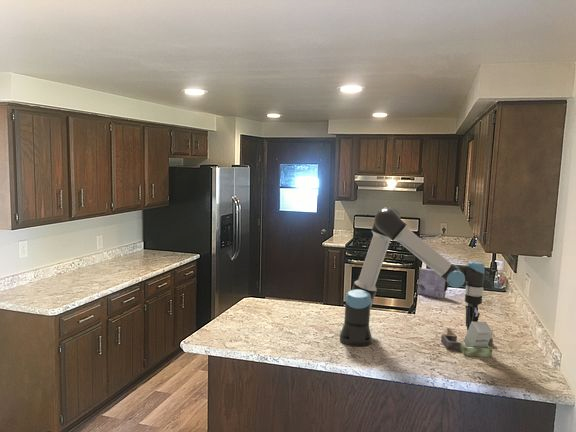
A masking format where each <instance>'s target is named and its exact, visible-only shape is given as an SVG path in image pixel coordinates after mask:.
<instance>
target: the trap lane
mask: <svg viewBox="0 0 576 432" xmlns="http://www.w3.org/2000/svg"><path fill="white" fill-rule="evenodd" d="M440 336H441V338H440V342H441V343H442V345H443V346H444V347H445V349H446V350H449V351H451V350H452V351H459V352H460V353H461V354H462V355H463V356H472V357H473V356H474V357H487V358H493V348H492V347H493V344H494V338H493V337H492V336H491V338H490V340H489V343H488V345H487V347H486V348H477V347H467V346H466V345H465V343H464V342H462V341H457V339H458V336H457V334H456V333H455V332H454V331H453V330H452V329H451V328H447V331H446V334H441V335H440Z"/></svg>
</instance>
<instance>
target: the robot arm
mask: <svg viewBox="0 0 576 432" xmlns="http://www.w3.org/2000/svg"><path fill="white" fill-rule="evenodd" d="M371 233H372V237H371V241H370V244H369V247H368V250H367V253H366V256H365V258H364V261H363V265H362V268H361V271H360V273H359V274H360V275H359V276H358V279H357V280H355V281H353V285H352V288H351V290H349V291H347V292H346V295H345V309H344V323H343V326H342V329H341V330H340V333H339V342H341V343H342V344H345V345H347V346H353V347H366V346H370V345H371V344H372V342H373V336H372V333H371V329H370V315H371V309H372V305H373V303H374V301H375V296H376V294H377V289H378V288H377V287H376V283H377V281H378V278H379V274H380V271H381V269H382V266H383V263H384V260H385V257H386V253H387V251H388V249H389V246H390V242H391V241H393V242H395V241H396V242H397V243H399V244H400V245H401V246H402V247H404V248H405V249H407V250H408V251H409V252H410V253H412V255H413V256H415V257H416V258H417V259H419V260H420V261H421V262H422V263H424V264H425V265H426V266H427V267H428V268H429V269H431V270H434V271H435V272H436V273H437V274H439V275H440V277H441V279H444V280H446V281H447V282H448V286H451V287H452V288H455V289H457V288H460V287H462V286H463V285H464V284H465V283H466V284H465V289H464V290H465V295H464V302H465V303H466V304H467V305H465V327H466V333H467V332H468V329H469V327H470V324H471V322H479V317H480V312H479V305H482V302H483V293H484V292H483V291H484V282H485V264H484V263H483V262H480V261H472V260H471V261H468V262H467V265H464V264H463V265H462V264H455V263H454V264H453V263H451V262H450V261H449V260H447V258H445V257H444V256H443V255H441V254H440V253H439V252H438V251H436V250H435V249H434V248H433V247H432V246H430V245H429V244H428V243H427V242H425V240H423V239H422V238H420V237H419V236H418V235H417V234H416V233H414V231H412V230H411V229H409V228H408V225H407V223H405V222H404V220H402V219H401V215H400V212H399V211H398V210H397V209H396V208H393V207H390V206H385V207H382V208H380V209H379V211H377V212H376V214H375V216H374V222H373V225H372V227H371Z"/></svg>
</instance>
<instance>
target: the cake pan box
mask: <svg viewBox="0 0 576 432" xmlns="http://www.w3.org/2000/svg"><path fill="white" fill-rule="evenodd" d="M448 288H449V284H448V282H447V281H446V280H444V279H441V277H440V275H439V274H437V273H436V272H435V271H434V270H432V269H431V268H424V267H420V268H419V274H418V283H417V289H416V290H417V291H416V294H418V295H422V296H423V295H424V296H428V297H433V298H439V299H445V298H446V294H447V293H446V292H447V290H448Z"/></svg>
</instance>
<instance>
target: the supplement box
mask: <svg viewBox="0 0 576 432" xmlns="http://www.w3.org/2000/svg"><path fill="white" fill-rule="evenodd" d="M493 334H494V332H493V330H492V329H491V328H490V326H489V324H488V323H487V321H478V322H471V324H470V327H469V329H468V332H467V331H466V335H465V337H464V339H463V344H464V345H465V346H466V347H477V348H486V347H487V345H488V343H489V340H490V338H491V337H492V336H493Z"/></svg>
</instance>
